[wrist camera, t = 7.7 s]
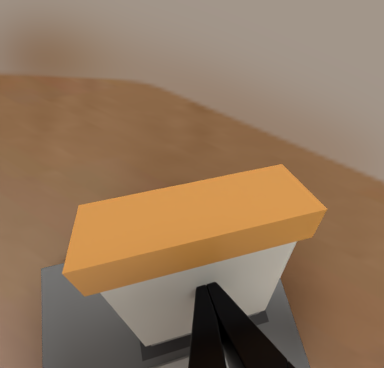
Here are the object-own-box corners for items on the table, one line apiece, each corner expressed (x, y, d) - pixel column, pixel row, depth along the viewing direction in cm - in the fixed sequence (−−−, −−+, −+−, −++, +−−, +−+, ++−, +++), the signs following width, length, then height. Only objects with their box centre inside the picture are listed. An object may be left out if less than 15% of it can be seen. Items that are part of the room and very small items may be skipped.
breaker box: (290, 372, 17) (327, 411, 12) (79, 447, 14) (41, 523, 10) (243, 223, 20) (260, 216, 16) (69, 265, 18) (38, 268, 14)
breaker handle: (266, 322, 13) (327, 209, 6) (147, 360, 12) (62, 273, 5) (249, 284, 15) (282, 164, 8) (144, 314, 14) (78, 205, 7)
